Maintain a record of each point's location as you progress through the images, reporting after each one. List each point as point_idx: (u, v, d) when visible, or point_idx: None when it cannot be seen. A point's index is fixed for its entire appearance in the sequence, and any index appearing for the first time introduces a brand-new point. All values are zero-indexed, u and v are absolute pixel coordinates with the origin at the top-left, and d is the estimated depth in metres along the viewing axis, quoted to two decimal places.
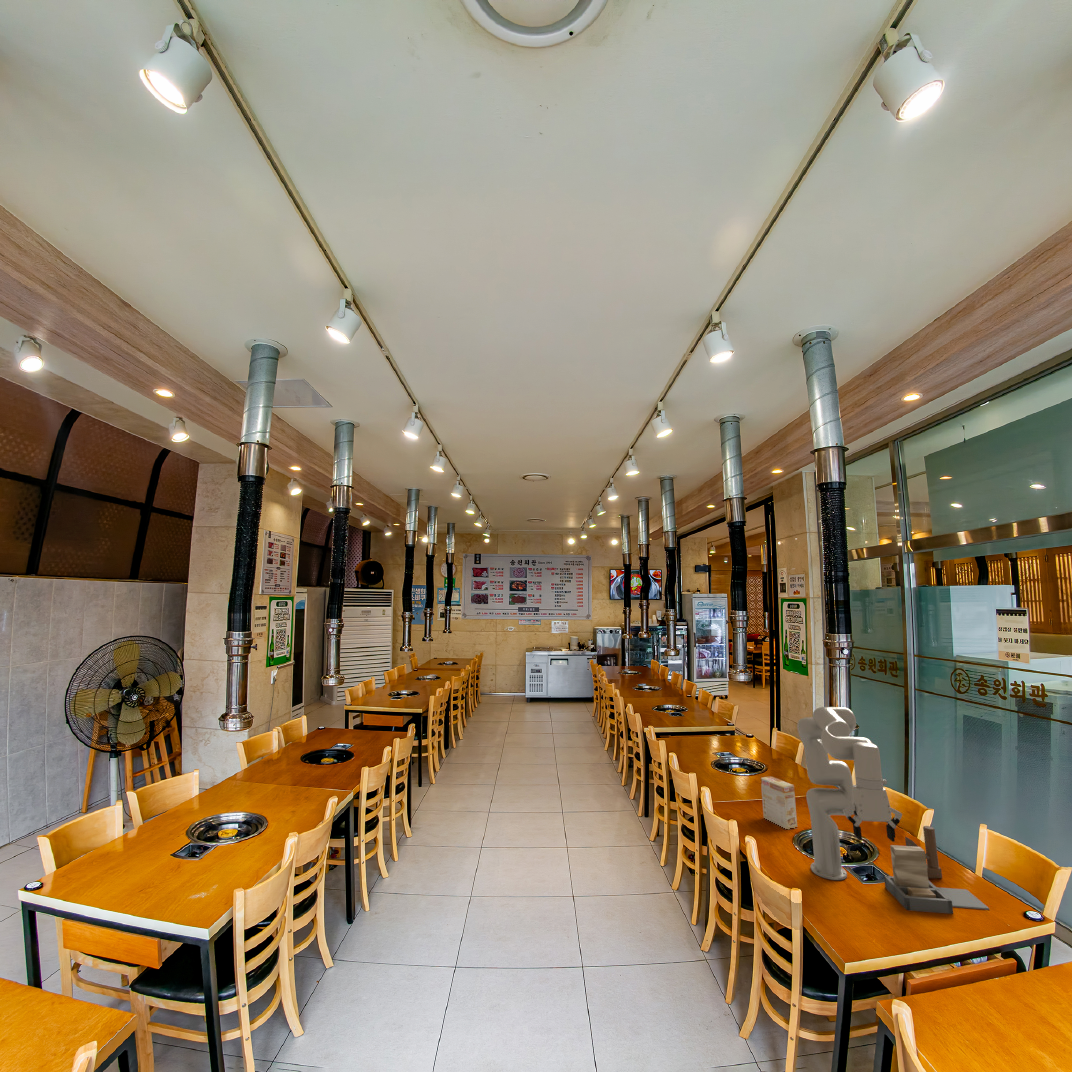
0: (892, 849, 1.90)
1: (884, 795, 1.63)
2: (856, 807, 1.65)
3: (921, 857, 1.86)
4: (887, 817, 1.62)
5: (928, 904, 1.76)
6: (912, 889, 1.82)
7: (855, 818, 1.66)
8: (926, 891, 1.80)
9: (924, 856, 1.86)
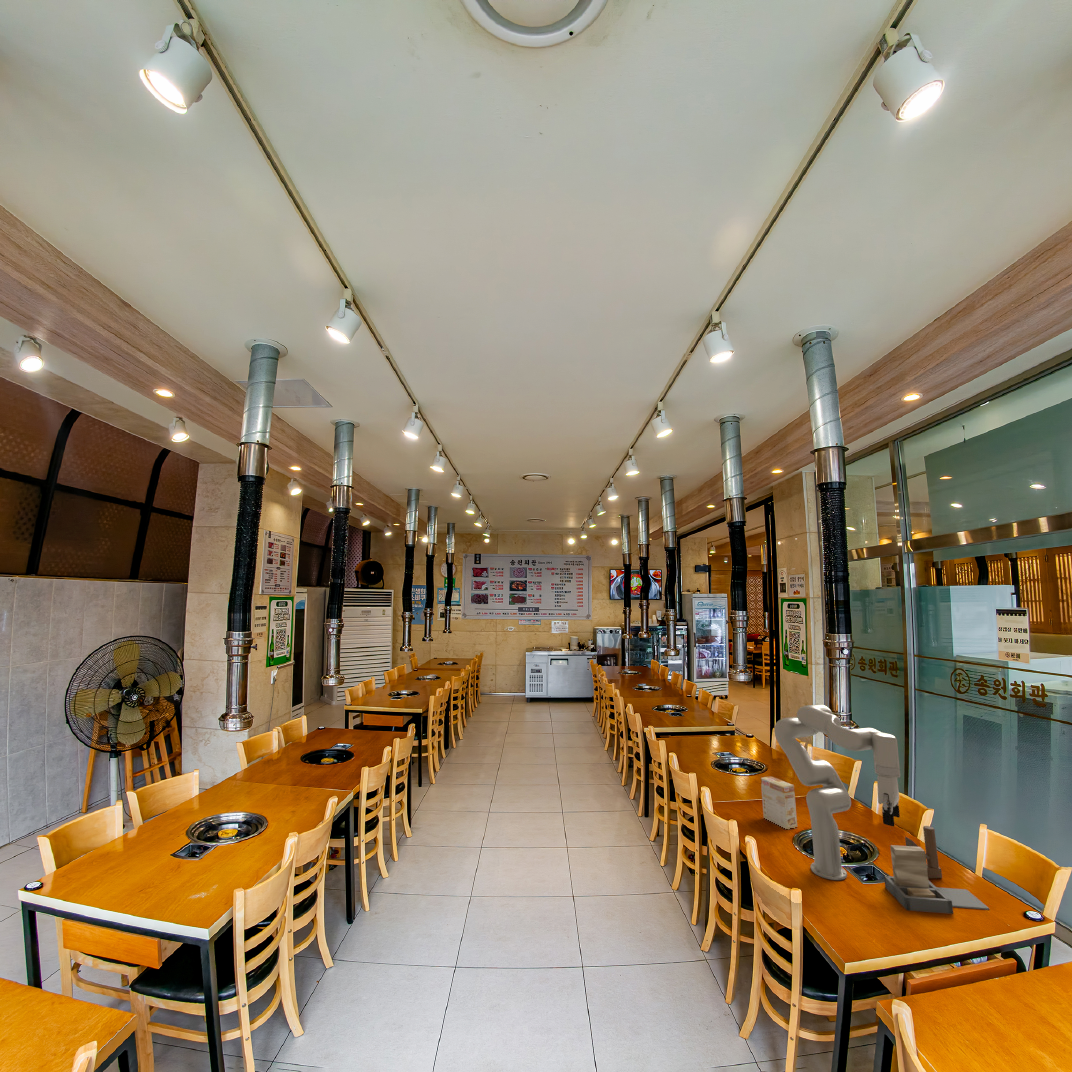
0: (892, 849, 1.90)
1: None
2: (889, 796, 1.76)
3: (921, 857, 1.86)
4: (898, 797, 1.81)
5: (928, 904, 1.76)
6: (912, 889, 1.81)
7: None
8: (925, 892, 1.80)
9: (924, 856, 1.86)
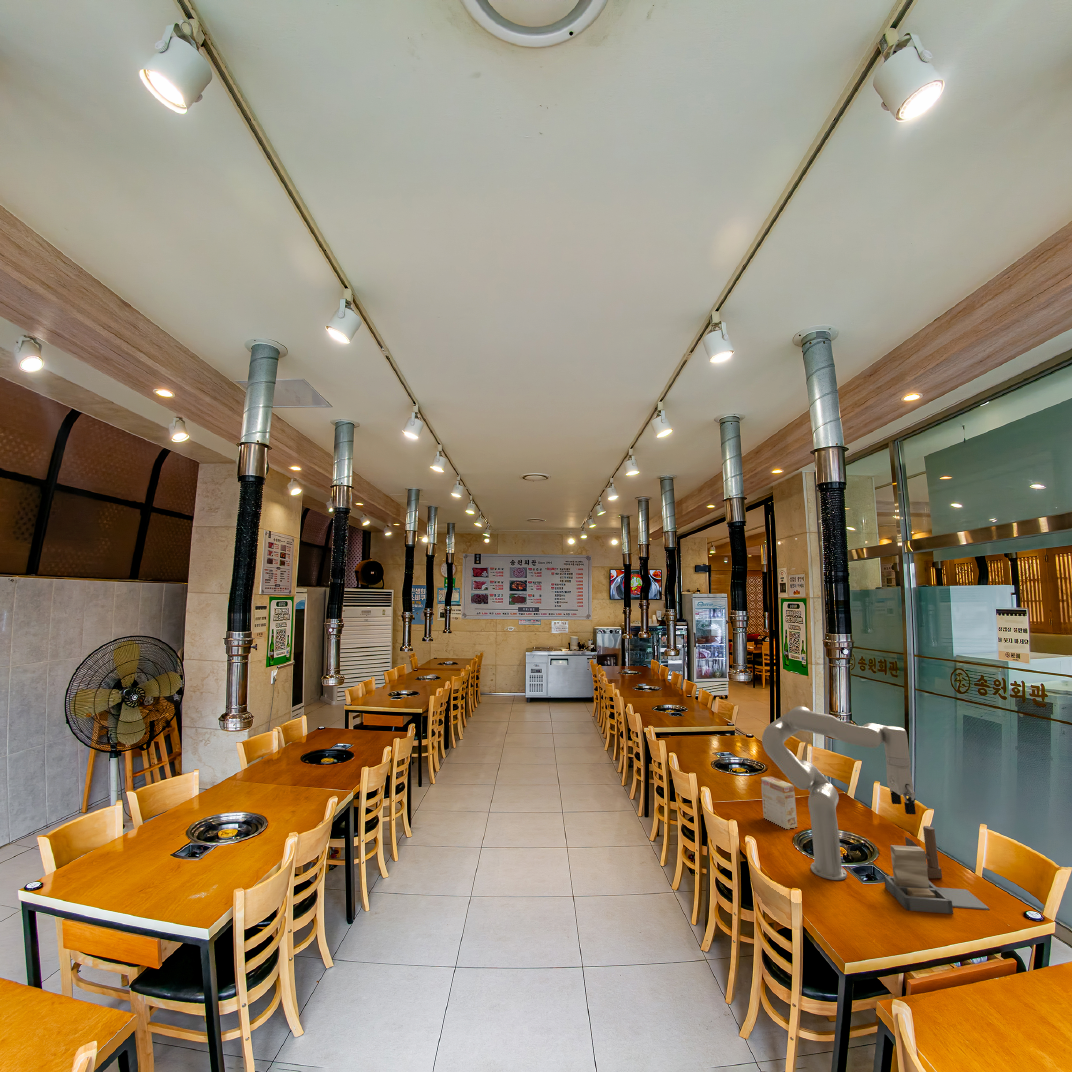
0: (892, 849, 1.90)
1: None
2: (910, 786, 1.87)
3: (921, 857, 1.86)
4: None
5: (928, 904, 1.76)
6: (912, 889, 1.81)
7: None
8: (925, 891, 1.80)
9: (924, 856, 1.86)
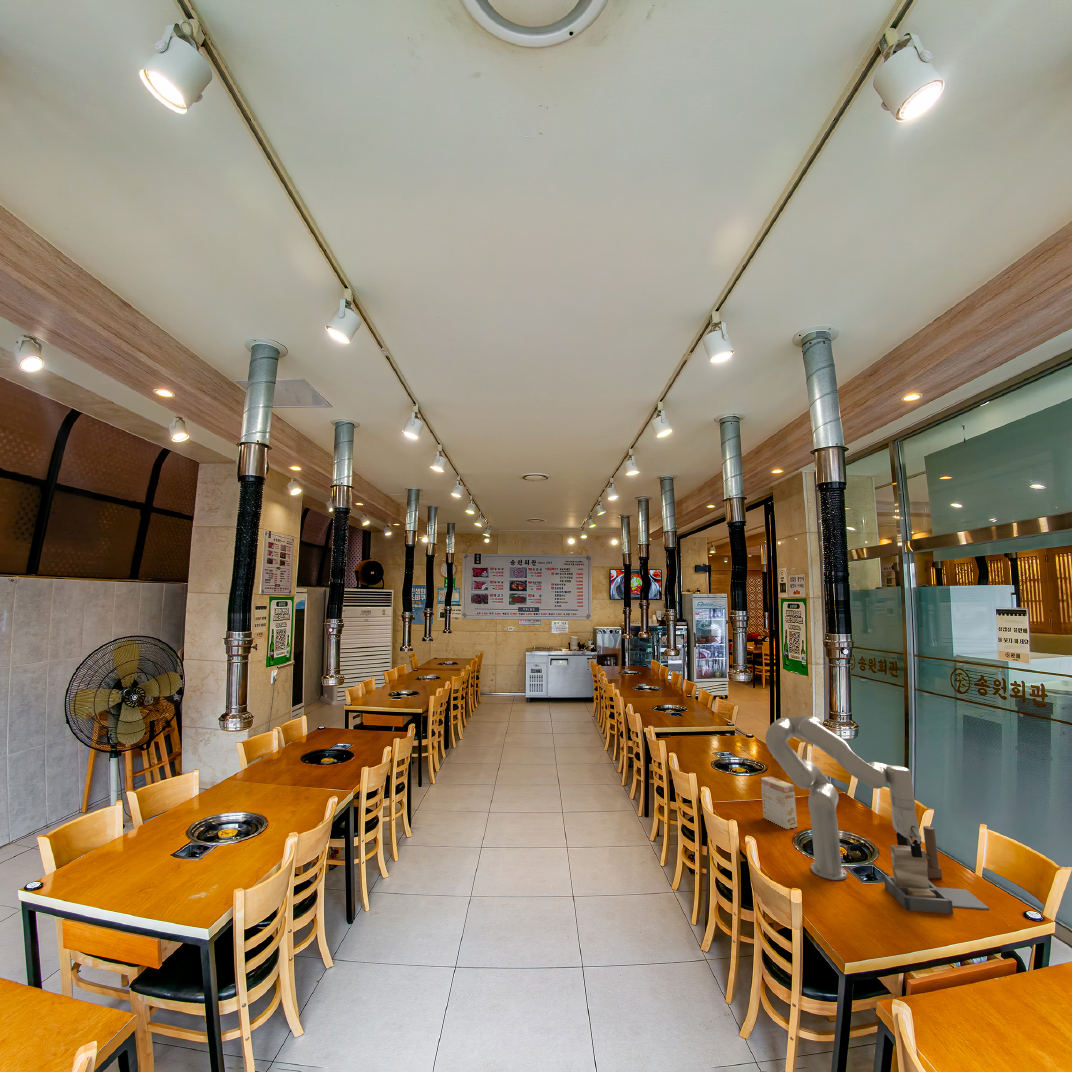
0: (892, 849, 1.90)
1: None
2: (916, 828, 1.85)
3: None
4: None
5: (928, 904, 1.76)
6: (912, 890, 1.81)
7: None
8: (926, 892, 1.80)
9: (924, 856, 1.86)
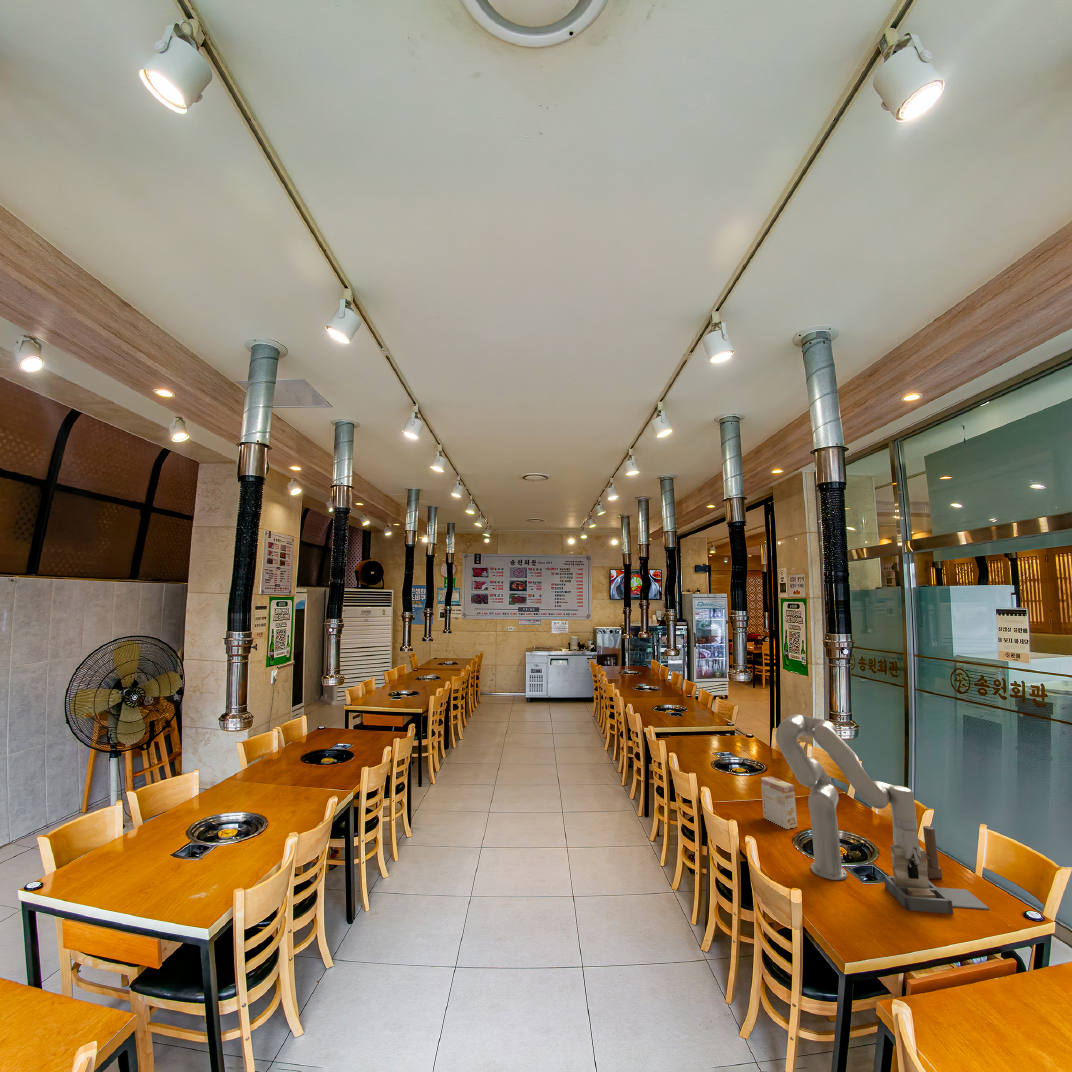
0: (892, 849, 1.90)
1: None
2: (917, 849, 1.84)
3: (921, 857, 1.86)
4: None
5: (928, 904, 1.76)
6: (912, 889, 1.82)
7: None
8: (926, 892, 1.80)
9: (924, 856, 1.86)
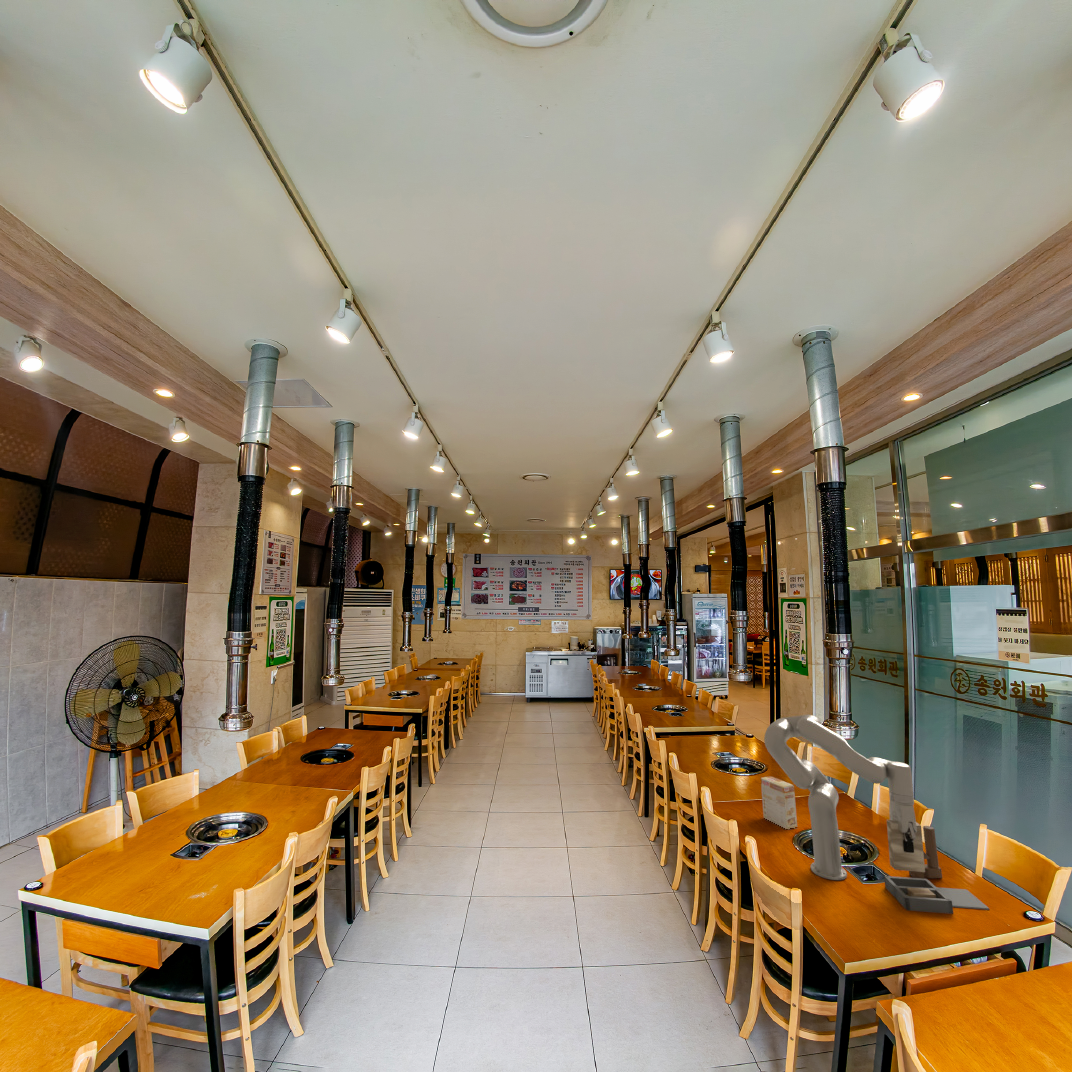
0: (888, 823, 1.91)
1: None
2: (913, 824, 1.85)
3: (917, 831, 1.88)
4: None
5: (928, 904, 1.76)
6: (912, 889, 1.81)
7: None
8: (926, 891, 1.80)
9: (920, 831, 1.87)
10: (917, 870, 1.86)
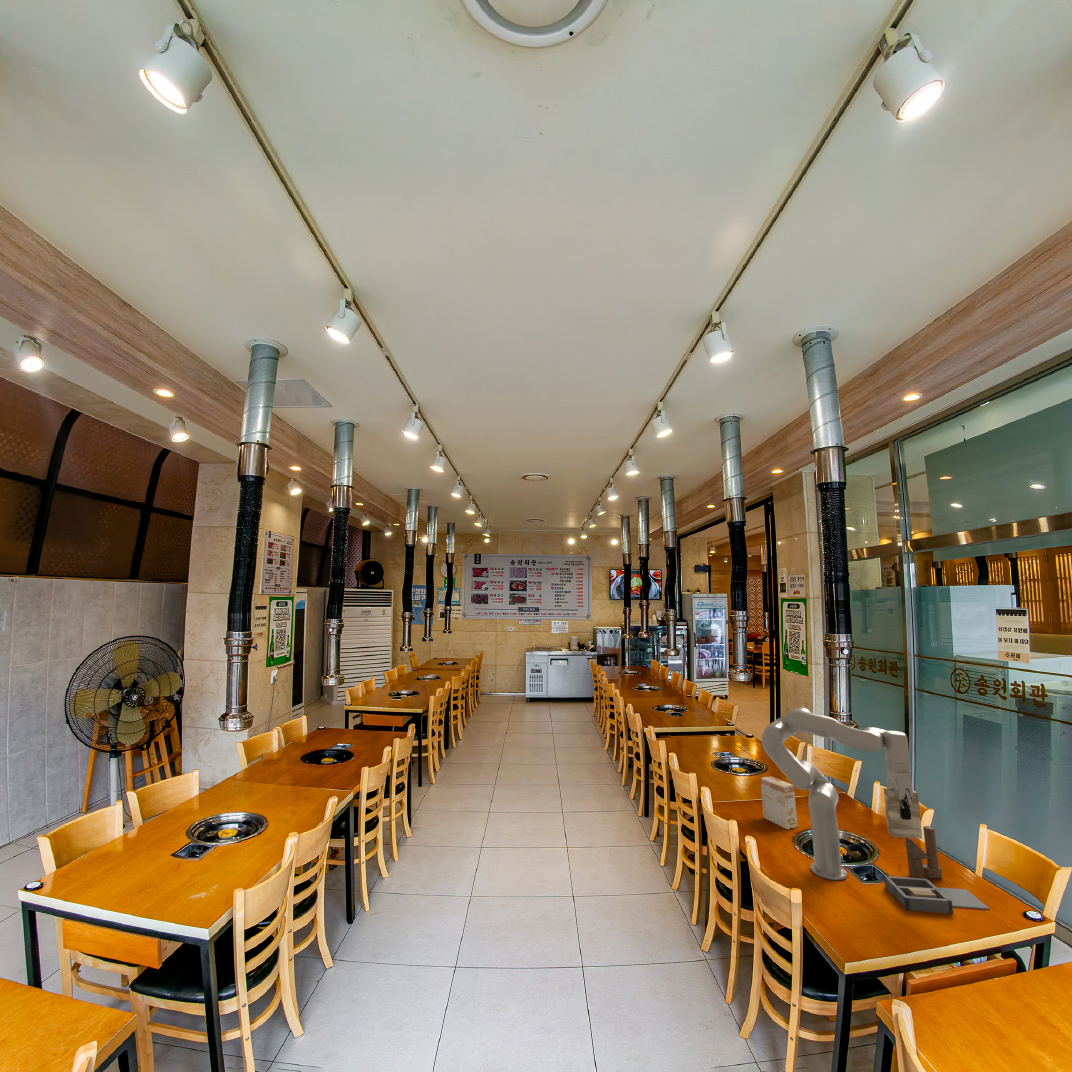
0: (885, 792, 1.93)
1: None
2: (910, 790, 1.87)
3: (914, 798, 1.89)
4: None
5: (928, 904, 1.76)
6: (913, 890, 1.81)
7: None
8: (926, 892, 1.80)
9: (917, 798, 1.89)
10: (914, 837, 1.87)
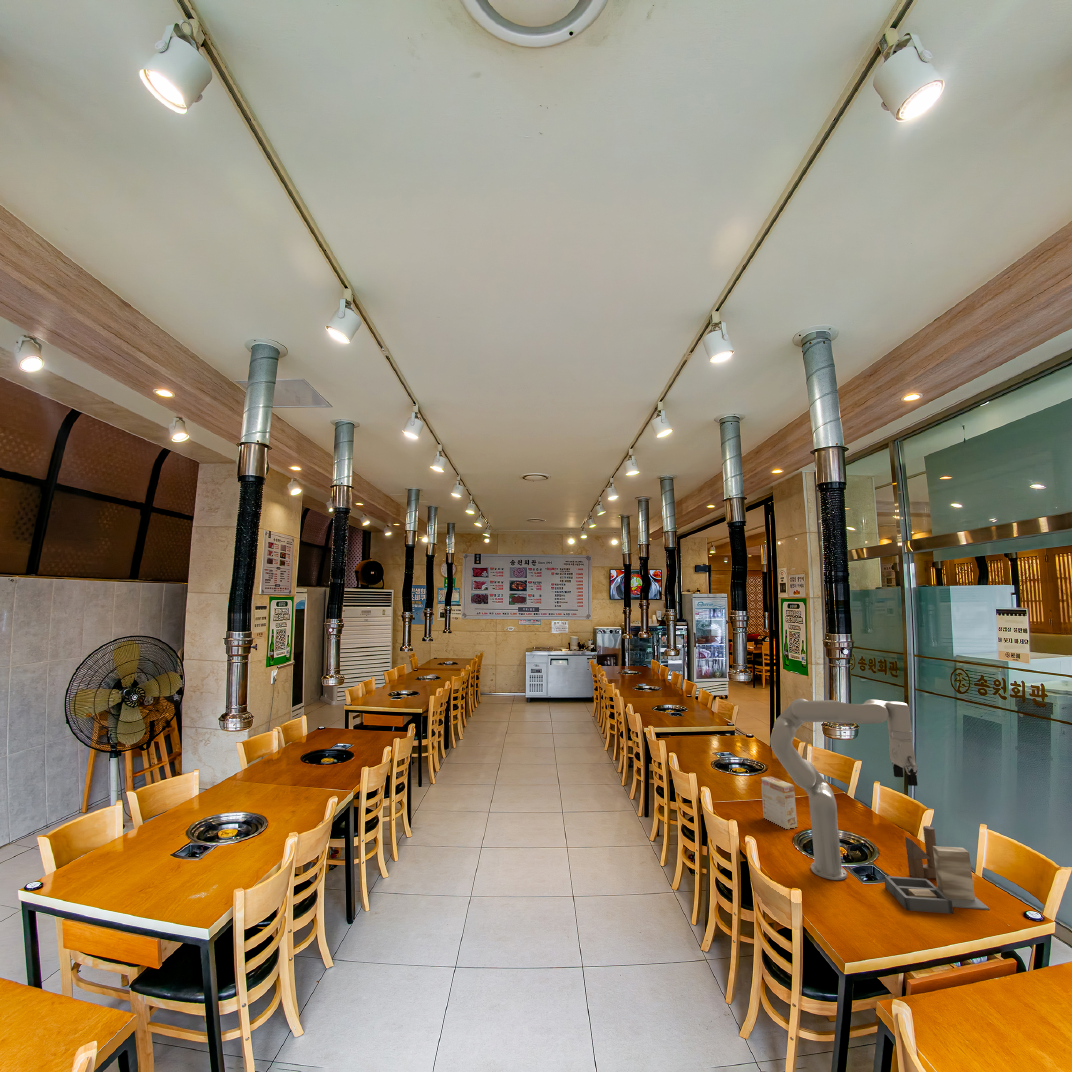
0: (935, 850, 1.87)
1: None
2: (912, 758, 1.92)
3: (965, 858, 1.84)
4: None
5: (928, 904, 1.76)
6: (913, 891, 1.81)
7: None
8: (927, 893, 1.80)
9: (968, 857, 1.84)
10: (967, 898, 1.82)
